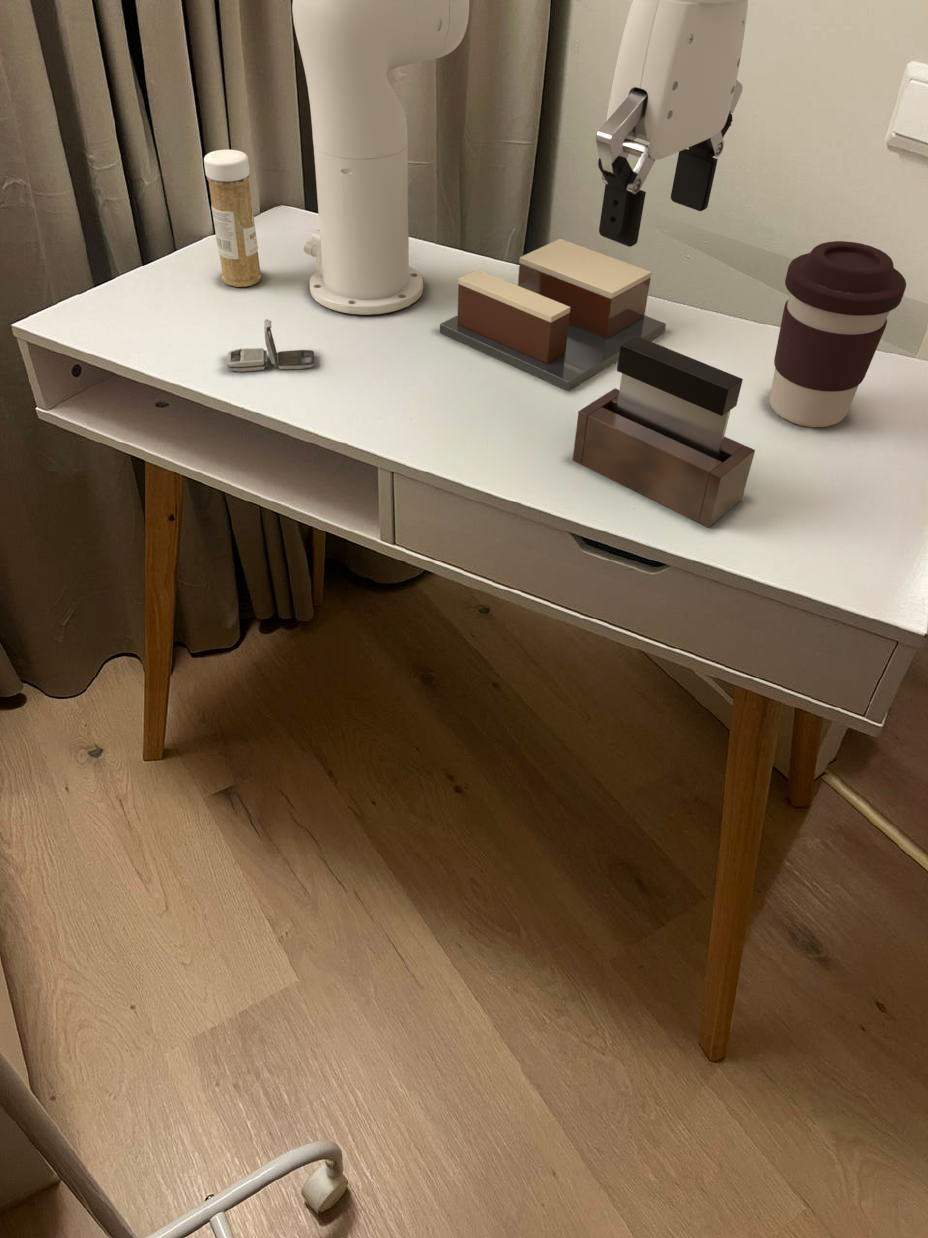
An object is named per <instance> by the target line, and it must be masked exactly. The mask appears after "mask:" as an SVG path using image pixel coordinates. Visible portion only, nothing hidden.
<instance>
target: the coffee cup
mask: <svg viewBox="0 0 928 1238" xmlns="http://www.w3.org/2000/svg"><path fill="white" fill-rule="evenodd" d="M894 266H895V265H894V261H893V259H892V258H891V257H890V256H889V255H888V254H887V253H886V252H884V251H883V250H881V249H879V248H876V247H875V246H871V245H868V244H865V243H860V242H855V241H846V240H845V241H843V240H834V241H826V242H822V243H820V244H817V245H816V246H814V247H813V248H812V249H811V251H809V252H807V253H804V254H801V255H799V256H797V257H795V258H793V259H792V260H791V261H790V263H789V265H788V267H787V271H786V275H785V279H784V285H785V288H786V290H787V291H788V292H789V293H788V299H787V300H786V301H785V303H784V307H783V311H782V317H781V322H780V327H779V333H778V337H777V344H776V349H775V354H774V359H773V364H774V372H773V378H772V382H771V388H770V393H769V404H770V407H771V409H772V410H773V412H774V413H775V414H777V415H778V416H779V417H781V418H782V419H783V420H786V421H788V422H790V423H792V424H796V425H799V426H803V427H810V428H825V427H831V426H834V425H836V424H839V423H840V422H842V421H843V420H844V419H845V417H846V416H847V414H848V412H849V410H850V407H851V405H852V402H853V400H854V397H855V396H856V393H857V390H858V388H859V386H860V385H861V384H862V382H863V381H864V379H865V377H866V375H867V373H868V370H869V368H870V366H871V363H872V360H873V359H874V356H875V354H876V352H877V349H878V346H879V344H880V341H881V339H882V337H883V335H884V333H885V330H886V327H887V325H888V316H889V313H890V312H891V311H893V310H895V309H897V308H898V306H899V305H900V304H901V302H902V300H903V298H904V295H905V291H906V288H907V281H906V279H905V276H904V275H903V274H902V273H901V272H900V271H899V270H897V269H896V268H895V267H894Z"/></svg>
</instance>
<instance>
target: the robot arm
mask: <svg viewBox="0 0 928 1238" xmlns="http://www.w3.org/2000/svg"><path fill="white" fill-rule="evenodd" d="M291 5H292V6H291V9H292V10H291V12H292V20H293V27H294V31H295V35H296V40H297V44H298V49H299V52H300V57H301V60H302V65H303V69H304V74H305V80H306V86H307V92H308V100H309V109H310V120H311V130H312V131H311V132H312V144H313V155H314V157H313V158H314V169H315V171H314V173H315V184H316V194H317V195H316V197H317V212H318V226H319V229H316V230H314V232H313V233H312V235H311V241H309V240H308V241H306V242H305V244H304V245H303V252H304V253H305V254H306V255H308V256H311V257H314V258H316V263H317V264H316V267H317V270H316V271H314V272H313V274H312V275H311V276H310V279H309V293H310V295H311V297H312V299H314V301H315V302H318V304H320V306H323V307H325V308H327V309H329V310H332V311H334V312H339V313H343V314H351V315H359V316H360V315H362V316H363V315H364V316H365V315H367V316H369V315H370V316H371V315H382V314H388V313H392V312H397V311H400V310H403V309H405V308H407V307H410V306H411V305H413V304H414V303H416V302H417V301H418V300H419V299H420V298H421V296H422V294H423V293H424V279H423V277H422V275H421V274H420V272H419V271H418V270H416V269H415V268H414V267H412V266H410V251H409V250H410V248H409V247H410V244H409V243H410V241H409V238H410V237H409V158H408V157H409V156H408V155H409V151H408V150H409V149H408V123H407V117H406V114H405V109H404V108H403V105H402V103H401V101H400V99H399V98H398V95H397V94H396V93H395V91H394V89H393V87H392V85H391V84H390V82H389V79H388V76H387V74H388V71H389V70H393V69H397V68H399V67H404V66H408V65H413V64H414V65H415V64H418V63H423V62H427V61H432V60H435V59H439V58H443V57H445V56H447V55H450V53H452V52H454V50H456V49H457V48H458V46H459V45H460V44H461V42H462V41H463V39H464V37H465V35H466V31H467V28H468V22H469V16H470V0H292V4H291ZM748 6H749V0H632V2H631V5H630V8H629V11H628V15H627V18H626V21H625V26H624V29H623V33H622V37H621V42H620V45H619V50H618V55H617V60H616V64H615V69H614V74H613V80H612V85H611V90H610V96H609V102H608V108H607V114H606V121H605V123H604V124H603V125H602V126H601V127H600V128H599V129H598V131H597V132H596V135H595V143H596V148H597V154H598V162H597V165H598V166H597V167H598V169H599V170H600V172H601V182H602V184H604V191H603V199H602V205H601V213H600V218H599V219H600V220H599V227H598V233H599V235H600V236H601V237H603V238H605V239H608V240H611V241H614V242H615V243H619V244H620V245H623V246H626V247H629V248H630V247H634V246H635V245H637V243H638V241H639V235H640V231H641V230H640V229H641V223H642V218H643V211H644V206H645V199H646V193H647V191H644V190H642V189H641V188H642V187H643V185H644V183H645V182H646V179H647V177H648V176H649V173H650V171H651V170H652V168H653V166H654V164H655V162H656V160H657V161H658V160H662V159H664V158H667V157H670V156H672V155H675V154H676V153H678V155H677V160H676V166H675V172H674V175H673V182H672V187H671V192H670V201H672V202H673V203H675V204H678V205H681V206H684V207H687V208H689V209H692V210H695V211H697V212H702V211H705V210H706V209H708V207H709V202H710V197H711V193H712V188H713V185H714V184H713V183H714V180H715V179H714V178H715V173H716V170H717V165H718V160H719V157H720V156H721V154H722V153H723V151H724V147H725V141H724V137H725V135H726V134H727V132H728V130H729V129H730V127H731V126H732V122H733V121H734V120H733V114H734V111H735V109H736V107H737V104H738V102H739V100H740V97H741V96H742V93H743V86H744V85H743V84H742V83H741V82H740V81H738V75H739V74H738V73H739V68H740V64H741V59H742V58H741V57H742V51H743V47H744V46H743V45H744V39H745V32H746V24H747V16H748V8H749V7H748ZM636 139H639V140H642V141H645V142H648V143H649V144H645V143H642V142H639V141H637V140H636ZM629 155H631V156H634V157H637V158H639V159H638V161H637V163H636V165H635V166H634V168H632V166H631V165H630V163H629V161H628V157H629Z"/></svg>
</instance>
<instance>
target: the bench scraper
mask: <svg viewBox="0 0 928 1238" xmlns="http://www.w3.org/2000/svg"><path fill="white" fill-rule="evenodd" d="M616 367H617V368H616V372H618V373H621V377H620V384H619V389H618V390H619V396H618V403H617V410H616V414H618V415H620V416H622V417H625V418H627V419H629V420H631V421H633V422H636V423H638V424H640V425H642V426H644V427H647V428H649V429H651V430H653V431H655V432H657V433H660V434H662V435H664V436H666V437H668V438H671V439H673V440H675V441H677V442H679V443H682V444H684V445H686V446H688V447H690V448H693V449H695V450H697V451H699V452H701V453H704V454H706V455H708V456H710V457H712V458H714V459H717V460H719V456H720V452H721V448H722V444H723V440H724V436H725V435H726V430H727V427H728V422H729V418H730V415H731V410H734V408H736V407H737V405H738V400H739V398H740V392H741V389H742V385H743V378H742V377H739V376H737V375H734V374H732V373H729V372H727V371H724V370H722V369H719V368H717V367H715V366H713V365H710V364H707V363H705V362H702V361H700V360H697V359H695V358H692V357H690V356H687V355H685V354H682V353H680V352H678V351H675V350H673V349H670V348H668V347H665V346H663V345H660V344H658V343H656V342H653V341H652V340H651V341H648V340H646V339H643V338H641V337H638V336H634V337H633V338H631V339H629V340H628V341H626V342H624V343H623V344H621V345H620V352H619V359H618V361H617V366H616Z"/></svg>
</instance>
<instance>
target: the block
mask: <svg viewBox="0 0 928 1238" xmlns="http://www.w3.org/2000/svg"><path fill="white" fill-rule="evenodd" d="M619 390H620V389H619V388H616V387H615V388H613V389H611V390H609V391H608V392H606V393H605V394H603V395H602V396H600V397H599V398H597V399H596V400H594V401H592V402H591V403H589V404H588V405H586V406H585V407H583V408H581V409H580V410H578V412H577V421H576V428H575V437H574V444H573V452H572V461H574V462H575V463H578V464H579V465H581V466H584V467H586V468H588V469H589V470H592V471H594V472H595V473H598V474H600V475H602V476H604V477H605V478H608V479H609V480H612V481H614V482H616V483H618V484H619V485H621V486H624V487H626V488H627V489H630V490H632V491H634V492H636V493H638V494H640V495H641V496H644V497H646V498H647V499H650V500H652V501H654V502H656V503H658V504H660V505H662V506H664V507H666V508H668V509H671V510H672V511H675V512H676V513H679V514H680V515H683V516H685V517H687V518H688V519H690V520H692V521H694V522H696V523H698V524H700V525H702V526H704V527H706V528H710V527H711V526H713V524H715V523H716V522H717V521H718V520H719V519H721V518H722V517H723V516H724V515H725V514H727V513H728V512H729V511H730V510H731V509H732V508H733V507H735V506H736V505H737V504H738V503H740V502H741V501H742V500H743V497H744V493H745V490H746V486H747V482H748V479H749V474H750V472H751V468H752V465H753V460H754V456H755V454H756V449H754V448H751V447H749V446H747V445H745V444H743V443H740V442H739V441H736V440H734V439H732V438H729V437H727V436H725V435H724V440H723V444H722V448H721V452H720V456H719V460H717V459H714V458H712V457H710V456H708V455H706V454H704V453H701V452H699V451H697V450H695V449H693V448H690V447H688V446H686V445H684V444H682V443H679V442H677V441H675V440H673V439H671V438H668V437H666V436H664V435H662V434H660V433H657V432H655V431H653V430H651V429H649V428H647V427H644V426H642V425H640V424H638V423H636V422H633V421H631V420H629V419H627V418H625V417H622V416H620V415H618V414H616V410H617V403H618V396H619Z"/></svg>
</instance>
